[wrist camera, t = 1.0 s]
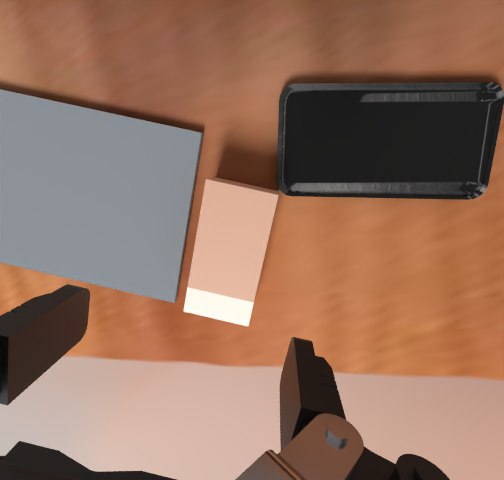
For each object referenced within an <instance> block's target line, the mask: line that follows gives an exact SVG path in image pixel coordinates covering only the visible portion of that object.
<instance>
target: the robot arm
mask: <svg viewBox="0 0 504 480" xmlns="http://www.w3.org/2000/svg"><path fill="white" fill-rule="evenodd" d="M89 301H90V292H89V290H88V289H86V288H82V287H78V286H73V285H65V286H63V287H61V288H60V289H58V290H56V291H54V292H52V293H51V294H50V293H49V294H46V295H42V296H38V297H35V298H32V299H31V300H29V301H27V302H25V303H23V304H21V306H18V307H16V308H14V309H12V310H11V312H7V313H5V314H3V315H1V316H0V403H1V404H5V405H8V404H10V403H11V402H12V401H13V400H14V399H15V398H16V397H17V396H19V395H20V394H21V393H22V392H23V391H24V390H25V389H26V388H28V386H30V385H31V384H32V383H33V382H34V381H35V380H37V379H38V378H39V377H40V376H41V375H42V374H43V373H44V372H46V371H47V370H48V369H49V368H50V367H51V366H52V365H53V364H54V363H56V362H57V361H58V360H59V359H60V358H61V357H62V356H63V355H65V354H66V353H67V352H68V351H69V350H70V349H71V348H72V347H74V346H75V345H76V344H77V343H78V342H79V341H80V340H81V339H82V337H83V336H84V334H85V332H86V329H87V324H88V312H89ZM334 379H335V378H334V374H333V371H332V368H331V366H330V365H329V364H328V363H327V361H326V360H325V359H324V358H322V357H318V356H315V353H314V348H313V343H312V341H309V340H305V339H300V338H296V337H292V339H291V341H290V345H289V349H288V352H287V356H286V360H285V363H284V367H283V371H282V375H281V381H280V430H281V432H280V433H281V452H280V453H278V454H276V453H274V451H273V450H268V451H266V452H265V453H264V454H263V455H262V456H261V457H259V458H258V459H257V460H256V461H255V462H254V463H253V464H252V465H251V466H250V467H249V468H247V469H246V470H245V471H244V472H243V473H242V474H241V475H240V476H239V477H238V478H237V479H236V480H450V479H449V478H448V477H447V476H446V475H445V474H444V473H443V472H442V471H441V470H440V469H439V468H438V467H437V466H436V465H434V464H433V463H431V462H430V461H428V460H426V459H424V458H422V457H420V456H417V455H413V454H404V455H402V456H400V457H399V458H398V460H397V462H396V464H394V463H392V462H390V461H389V460H387V459H385V458H383V457H381V456H379V455H377V454H375V453H373V452H371V451H370V450H368V449H367V448H366V447H364V446H363V440H362V438H361V436H360V434H359V432H358V431H357V430H356V429H355V427H354V426H353V425H352V424H350V423H349V422H348V421H346V418H345V414H344V410H343V407H342V403H341V400H340V396H339V392H338V390H337V385H336V382H335V380H334ZM0 480H176V479H171V478H168V477H163V476H159V475H156V474H151V473H147V472H143V471H117V472H116V471H114V472H95V471H91V470H89V469H88V468H86V467H84V466H83V465H81V464H79V463H78V462H76V461H74V460H73V459H71V458H70V457H68V456H66V455H65V454H63V453H61V452H60V451H58V450H54V449H49V448H45V447H41V446H37V445H33V444H29V443H25V442H21V441H19V442H18V443H17V444H16V445H15V446H14V447H13V448H12V449H11V450H10V451H9V453H8V454H7V455H6V456H0Z"/></svg>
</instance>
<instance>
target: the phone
mask: <svg viewBox="0 0 504 480" xmlns="http://www.w3.org/2000/svg"><path fill="white" fill-rule="evenodd" d="M503 105H504V92H503V89H502V88H501V87H500V86H499V85H498V84H496V83H492V82H421V83H296V84H291V85H289V86H287V87H286V88H285V89H284V90H283V92H282V94H281V96H280V100H279V126H278V158H277V185H278V187H279V189H280V190H281V191H282V193H284V194H286V195H289V196H314V197H365V198H417V199H474V198H477V197H479V196H480V195H481V194H483V193H484V191H485V190H486V189H487V186H488V183H489V178H490V172H491V167H492V162H493V157H494V151H495V146H496V141H497V136H498V131H499V125H500V120H501V115H502V110H503Z"/></svg>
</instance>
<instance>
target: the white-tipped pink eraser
mask: <svg viewBox="0 0 504 480" xmlns="http://www.w3.org/2000/svg"><path fill="white" fill-rule="evenodd" d="M278 196H279V193H278V191H276V190H272V189H267V188H262V187H258V186H253V185H249V184H244V183H240V182H235V181H230V180H226V179H221V178H217V177H215V178H209V179H206V182H205V188H204V194H203V199H202V205H201V211H200V217H199V223H198V229H197V235H196V241H195V247H194V253H193V258H192V264H191V270H190V276H189V282H188V288H187V294H186V300H185V306H184V312H188V313H193V314H197V315H201V316H205V317H210V318H214V319H218V320H223V321H227V322H231V323H236V324H240V325H244V326H248V325H249V321H250V317H251V312H252V308H253V304H254V299H255V295H256V291H257V286H258V282H259V278H260V273H261V269H262V265H263V260H264V256H265V252H266V247H267V243H268V239H269V234H270V230H271V226H272V221H273V217H274V213H275V209H276V204H277V200H278Z"/></svg>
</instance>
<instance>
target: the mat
mask: <svg viewBox="0 0 504 480" xmlns="http://www.w3.org/2000/svg"><path fill="white" fill-rule="evenodd" d="M202 140H203V133H200V132H196V131H191V130H187V129H182V128H177V127H173V126H168V125H163V124H159V123H154V122H149V121H145V120H140V119H136V118H131V117H126V116H122V115H117V114H112V113H108V112H103V111H98V110H94V109H89V108H85V107H80V106H75V105H71V104H66V103H61V102H57V101H52V100H47V99H43V98H38V97H33V96H29V95H24V94H20V93H15V92H10V91H6V90H1V89H0V263H5V264H9V265H13V266H17V267H22V268H26V269H30V270H35V271H39V272H43V273H48V274H52V275H56V276H61V277H65V278H69V279H74V280H78V281H82V282H86V283H91V284H95V285H99V286H104V287H108V288H112V289H117V290H121V291H125V292H130V293H134V294H138V295H143V296H147V297H151V298H156V299H160V300H164V301H168V302H173V303H175V301H176V300H177V294H178V288H179V282H180V276H181V270H182V263H183V257H184V251H185V245H186V239H187V232H188V226H189V220H190V214H191V208H192V202H193V195H194V189H195V183H196V177H197V171H198V164H199V158H200V152H201V146H202Z"/></svg>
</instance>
